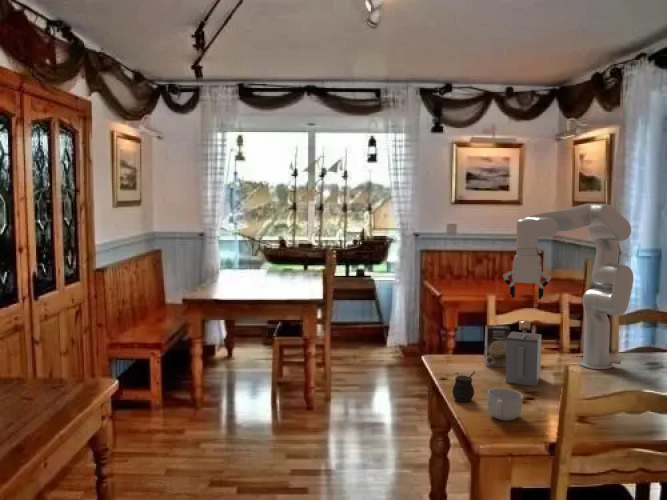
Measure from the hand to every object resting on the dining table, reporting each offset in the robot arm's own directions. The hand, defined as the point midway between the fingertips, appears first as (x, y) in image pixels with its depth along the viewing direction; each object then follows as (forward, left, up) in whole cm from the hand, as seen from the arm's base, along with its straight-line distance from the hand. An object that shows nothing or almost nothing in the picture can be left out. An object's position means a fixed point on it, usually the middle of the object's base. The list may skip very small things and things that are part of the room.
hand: (526, 297), depth 232 cm
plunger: (0, 0, -26) cm, 26 cm away
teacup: (0, +44, -32) cm, 55 cm away
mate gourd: (+16, +32, -32) cm, 48 cm away
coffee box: (+13, -17, -32) cm, 38 cm away
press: (0, +2, -31) cm, 31 cm away
